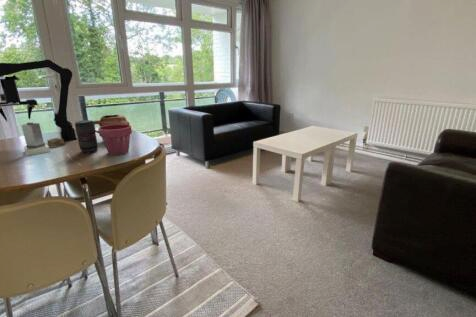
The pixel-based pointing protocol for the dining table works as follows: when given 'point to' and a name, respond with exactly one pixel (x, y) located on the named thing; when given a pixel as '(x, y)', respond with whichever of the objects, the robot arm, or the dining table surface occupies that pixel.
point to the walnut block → (55, 142)
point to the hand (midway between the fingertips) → (18, 120)
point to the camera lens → (86, 136)
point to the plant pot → (116, 138)
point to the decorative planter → (111, 120)
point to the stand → (37, 150)
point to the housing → (33, 135)
